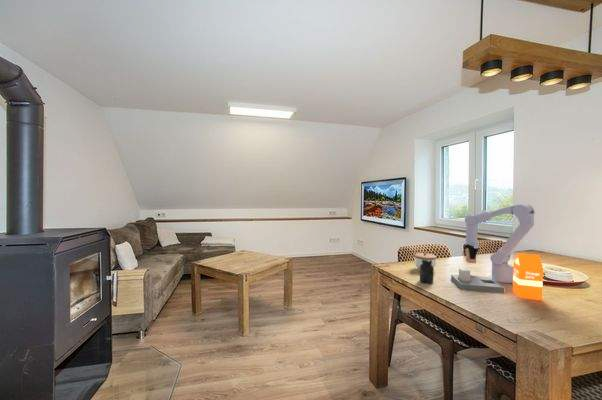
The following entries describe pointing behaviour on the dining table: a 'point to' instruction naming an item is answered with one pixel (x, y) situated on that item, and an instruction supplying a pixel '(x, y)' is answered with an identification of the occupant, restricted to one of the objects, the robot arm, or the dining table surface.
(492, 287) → the socket board
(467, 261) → the peg
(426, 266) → the supplement bottle
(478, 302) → the dining table surface
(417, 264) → the lidded bowl
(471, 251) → the robot arm
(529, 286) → the orange juice
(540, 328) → the dining table surface
